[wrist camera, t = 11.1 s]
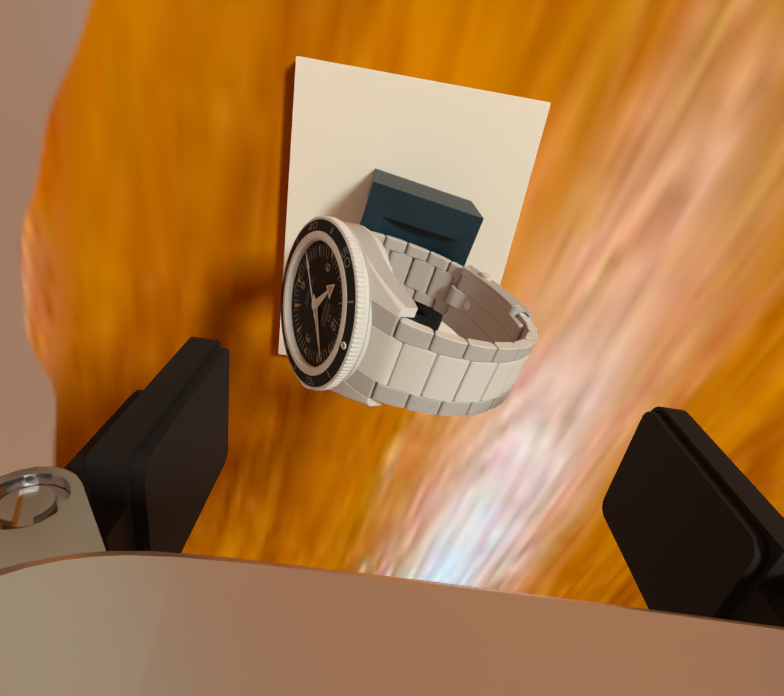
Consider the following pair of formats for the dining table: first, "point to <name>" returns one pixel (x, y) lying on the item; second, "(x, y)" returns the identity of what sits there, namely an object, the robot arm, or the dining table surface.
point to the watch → (402, 306)
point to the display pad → (409, 150)
